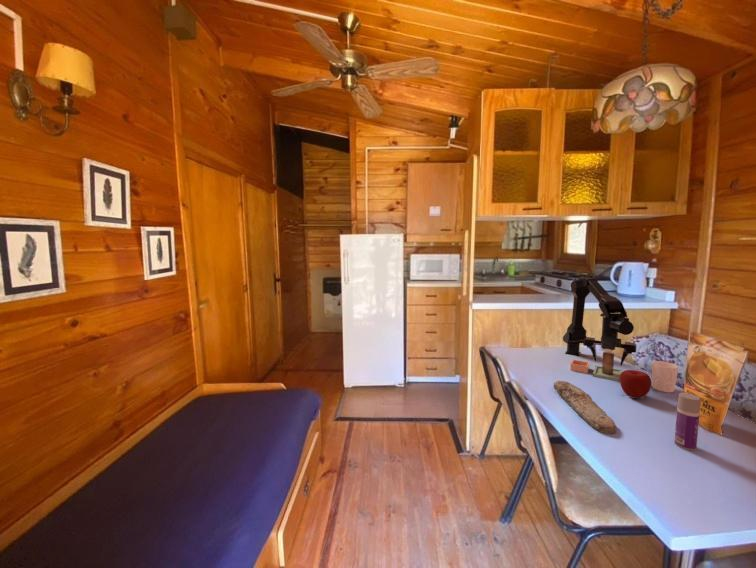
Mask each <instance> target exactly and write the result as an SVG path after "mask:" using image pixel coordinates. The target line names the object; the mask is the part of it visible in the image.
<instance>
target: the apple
mask: <svg viewBox="0 0 756 568" xmlns="http://www.w3.org/2000/svg"><path fill="white" fill-rule="evenodd" d="M619 383H620V387H621V389H622V391H623V392H624V394H625V395H626V396H628V397H629V398H632V399H641V398H644V397H645V396H646V395H648V394H649V392H650V390H651V388H652V377H650V375H649V374H647V373H646V372H644V371H641V370H636V369H626V370H622V373H621V374H620V381H619Z"/></svg>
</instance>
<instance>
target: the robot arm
mask: <svg viewBox="0 0 756 568" xmlns="http://www.w3.org/2000/svg"><path fill="white" fill-rule="evenodd" d="M570 291H571V293H572V295H573V302H572V303H573V304H572V305H573V306H572V314H571V315H572V316H571V322H570V324H569V325H568V327H567V329H566V332H565V333H564V335H563V336H562V341H563V343H566V351H565V353H564V354H565V355H570V356H576V357H579V356H580V355H581V353H582V352H581V351H580V350H581V349H580V348H581V347H580V345H581V344H583V346H586V348H587V349H590V351H591V354H592V357H593V359H594V362H595V363H596V362H597V346H600V348H601V349H603V350H610V351H615V350H616V348H619V349H623V350H622V354H621V360H620V366H623V364H624V362H625V360H626V358H627V357H628V355H632V354H633V353H637V344H636V343H635V342H629V341H624V343H622V338H619V334H621V335H623V336H628V335H630V334H632V332H633V331H634V329H635V326H634V324H633V323H632V322H631V321H630V318H629V317H628V313H627V310H626V309H625V307H624V305H623V302H622V300H620V299H619V298H617V297H616V296H613V295H610V293H608V291H606V289H605V288H604V287H603V286H602V285H601V284H600V282H599V281H598V279H597V278H595V277H587V278H584V279H583V278H582V279H573V280H572V281H571V282H570ZM589 294H592V295H593V296H594V298H595V299H596V300H597V301H598V308H599V310H600V311H601V313H600V315H599V316H600V317H602V327H601V338H600V340H597V339H596V338H595V337H591V336H587V329H585V327H584V325H583V324H584V314H585V304H586V298H587V297H588V296H589Z"/></svg>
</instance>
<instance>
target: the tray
mask: <svg viewBox="0 0 756 568" xmlns="http://www.w3.org/2000/svg"><path fill="white" fill-rule="evenodd" d="M622 372H623V370H622V369H618V368H613V375H606V374H603V373H602V365H601V366H600V365H595V366H594V369H593V371H592V377H594V378H600V379H604V380H605V379H606V380H610V381H615V382H620V374H621V373H622Z"/></svg>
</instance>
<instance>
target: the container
mask: <svg viewBox="0 0 756 568" xmlns="http://www.w3.org/2000/svg"><path fill="white" fill-rule="evenodd" d="M699 413H700V397H698V396H696V395H693V394H689V393H684V392H679V393H678V401H677V408H676V418H675V419H676V420H675V428H674V429H675V432H674V441H673V442H674V444H675V446H676V447H678V448H681V449H683V450H686V451H697V445H698V436H699V434H698V433H699V426H700V425H699Z"/></svg>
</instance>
